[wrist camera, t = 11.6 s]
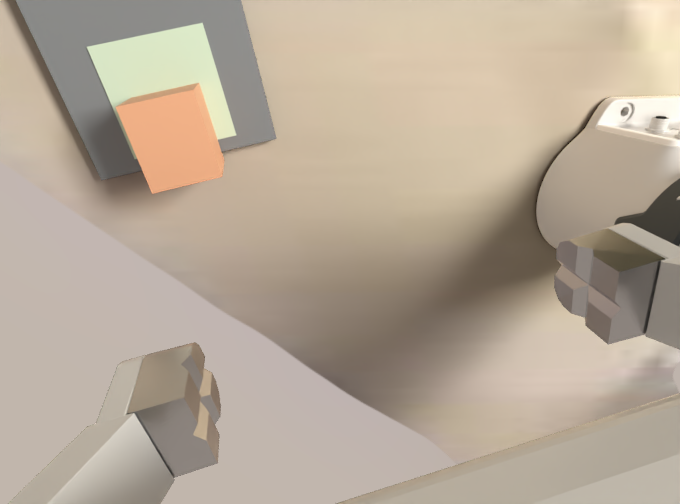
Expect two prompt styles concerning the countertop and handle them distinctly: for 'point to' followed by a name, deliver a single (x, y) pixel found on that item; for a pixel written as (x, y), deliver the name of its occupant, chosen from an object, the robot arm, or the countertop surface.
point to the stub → (172, 137)
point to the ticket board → (149, 67)
